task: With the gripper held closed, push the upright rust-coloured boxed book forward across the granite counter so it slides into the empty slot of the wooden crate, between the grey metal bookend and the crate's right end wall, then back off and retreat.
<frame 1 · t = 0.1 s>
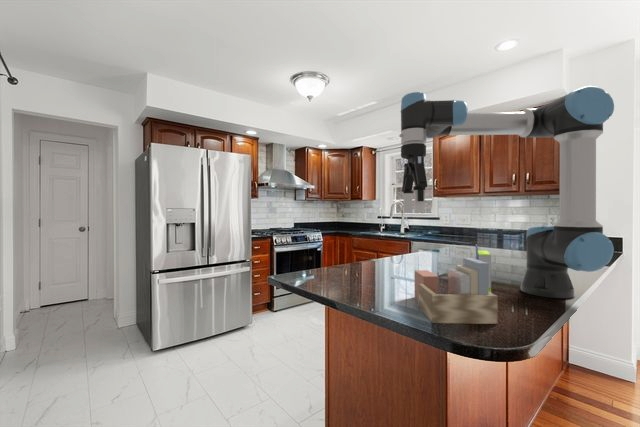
hand: (413, 213, 98), 28 cm above the countertop, fingers open, 13 cm apart
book: (425, 301, 99), on the countertop
box: (482, 300, 102), on the countertop
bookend: (458, 316, 85), resting in wooden crate
wooden crate: (455, 315, 86), on the countertop
shelved books: (471, 315, 85), resting in wooden crate
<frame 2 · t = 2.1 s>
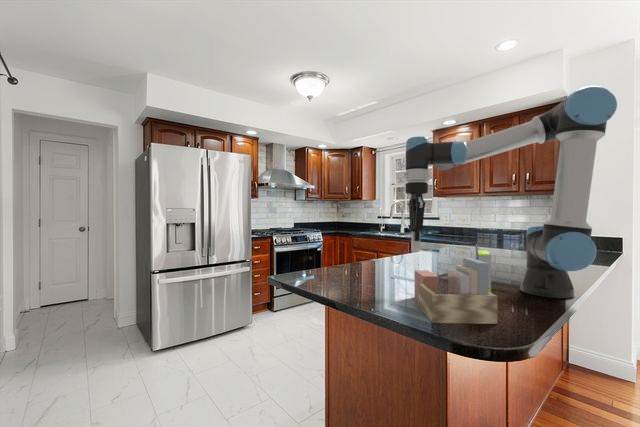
hand: (415, 250, 110), 15 cm above the countertop, fingers closed
nothing on the countertop moved.
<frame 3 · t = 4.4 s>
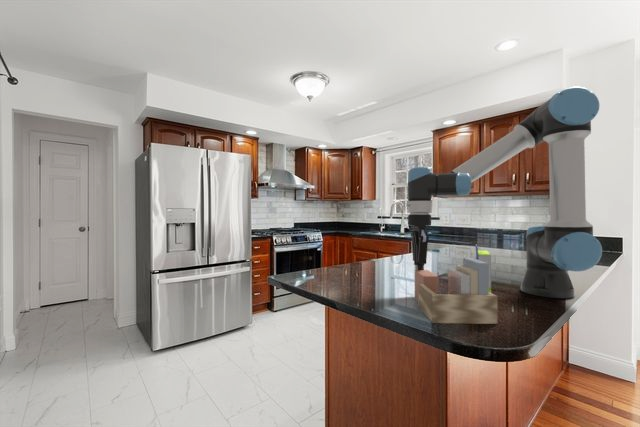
hand: (419, 283, 106), 4 cm above the countertop, fingers closed
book: (426, 301, 99), on the countertop, touching gripper
everything else where it was.
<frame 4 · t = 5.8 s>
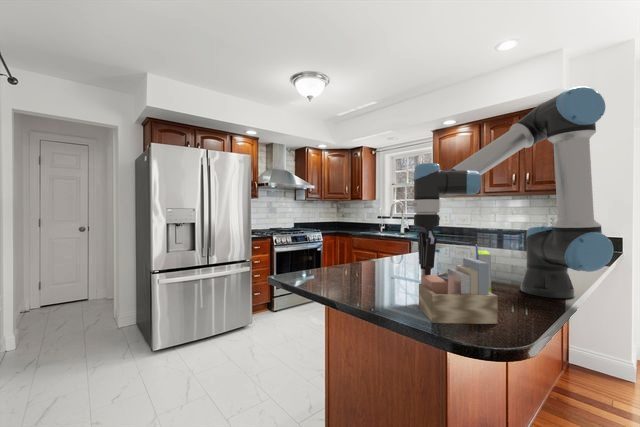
hand: (426, 289, 98), 4 cm above the countertop, fingers closed
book: (433, 309, 91), resting in wooden crate, touching gripper
everything else where it was.
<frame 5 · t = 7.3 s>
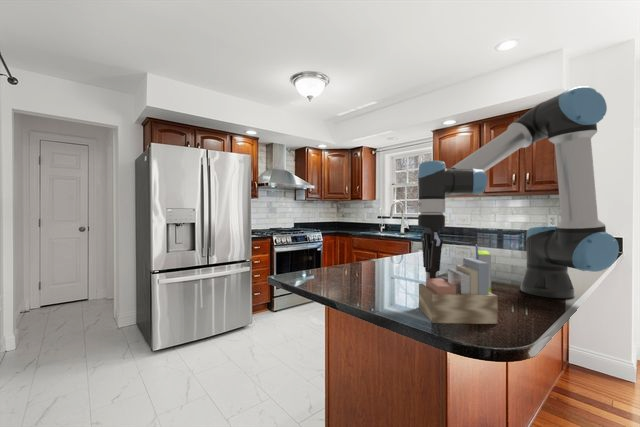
hand: (431, 293, 93), 4 cm above the countertop, fingers closed
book: (440, 315, 86), resting in wooden crate, touching gripper
everything else where it was.
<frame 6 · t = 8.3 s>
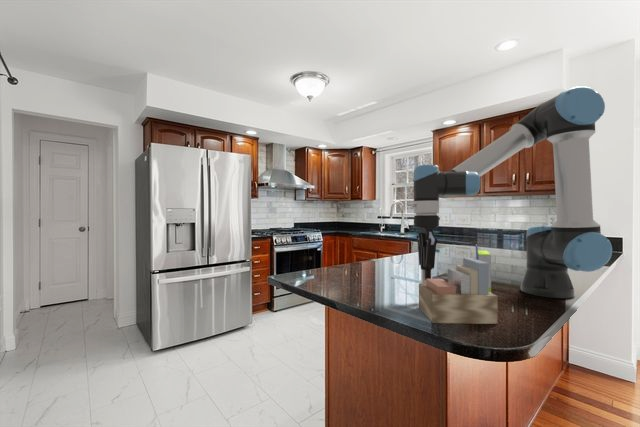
hand: (426, 289, 99), 4 cm above the countertop, fingers closed
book: (440, 315, 86), resting in wooden crate
everything else where it was.
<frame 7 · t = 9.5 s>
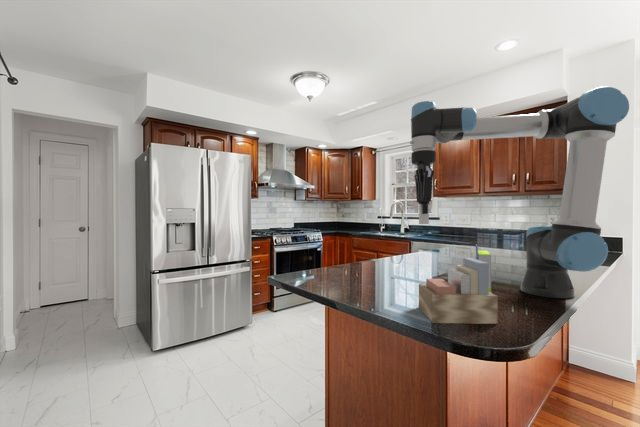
hand: (423, 223, 102), 24 cm above the countertop, fingers closed
nothing on the countertop moved.
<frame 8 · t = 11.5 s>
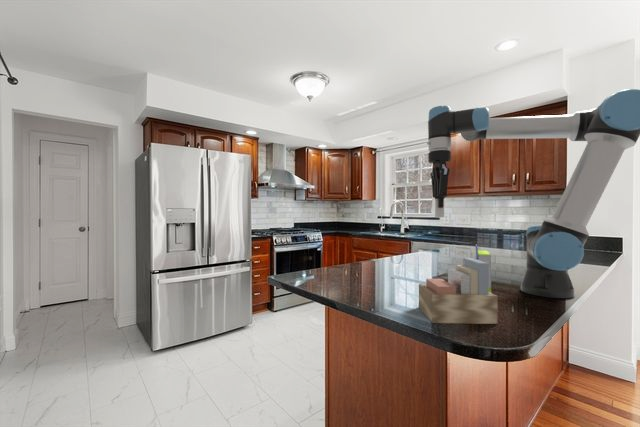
hand: (439, 217, 113), 26 cm above the countertop, fingers closed
nothing on the countertop moved.
at the end: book 0.9 cm from the target spot, resting in wooden crate; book tilted 0° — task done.
